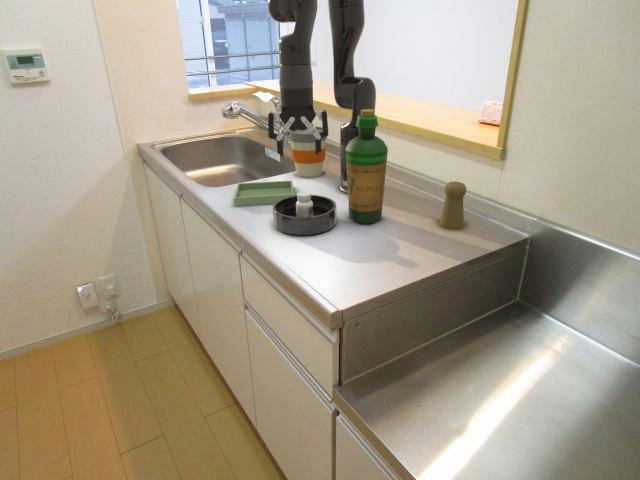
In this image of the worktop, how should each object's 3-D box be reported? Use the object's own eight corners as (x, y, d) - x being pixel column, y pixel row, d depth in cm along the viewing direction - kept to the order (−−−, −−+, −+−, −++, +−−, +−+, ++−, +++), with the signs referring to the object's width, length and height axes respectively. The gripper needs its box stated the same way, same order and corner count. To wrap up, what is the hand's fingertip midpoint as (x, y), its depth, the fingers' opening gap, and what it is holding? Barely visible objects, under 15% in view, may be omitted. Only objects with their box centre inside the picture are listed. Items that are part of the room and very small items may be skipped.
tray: (292, 188, 143) (292, 180, 142) (294, 202, 131) (293, 194, 130) (238, 190, 142) (237, 183, 141) (234, 206, 130) (233, 198, 129)
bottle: (339, 223, 117) (339, 113, 105) (351, 209, 126) (352, 105, 114) (380, 228, 113) (384, 115, 101) (389, 213, 122) (394, 107, 110)
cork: (464, 220, 116) (469, 180, 111) (463, 230, 111) (468, 188, 106) (440, 218, 118) (444, 178, 113) (438, 227, 113) (442, 186, 108)
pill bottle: (314, 224, 116) (313, 196, 112) (297, 225, 115) (295, 197, 112) (313, 217, 120) (311, 190, 116) (296, 218, 119) (295, 191, 116)
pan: (332, 210, 125) (332, 193, 123) (339, 234, 111) (339, 215, 109) (274, 213, 124) (273, 196, 122) (274, 238, 110) (272, 219, 108)
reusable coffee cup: (318, 166, 164) (317, 124, 157) (333, 175, 153) (332, 131, 147) (286, 171, 159) (283, 128, 153) (299, 181, 149) (297, 136, 142)
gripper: (326, 82, 106) (327, 150, 113) (266, 84, 106) (271, 152, 113) (328, 86, 100) (329, 157, 107) (263, 88, 99) (269, 160, 106)
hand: (299, 154), depth 110 cm, fingers open, 8 cm apart
